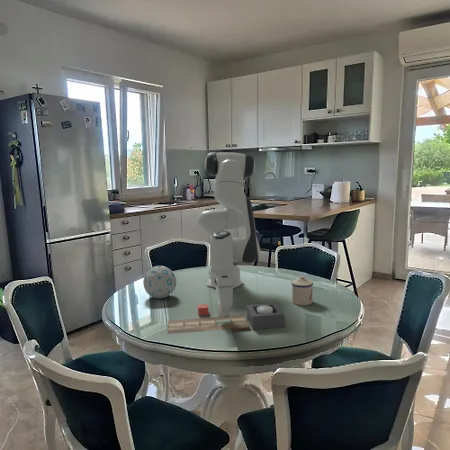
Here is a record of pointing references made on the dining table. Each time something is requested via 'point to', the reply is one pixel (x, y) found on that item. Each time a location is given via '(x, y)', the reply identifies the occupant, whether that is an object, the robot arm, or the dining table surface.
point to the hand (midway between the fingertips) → (223, 310)
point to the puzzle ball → (159, 282)
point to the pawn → (221, 311)
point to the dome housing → (265, 317)
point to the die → (203, 309)
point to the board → (208, 324)
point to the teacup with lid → (302, 291)
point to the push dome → (264, 309)
